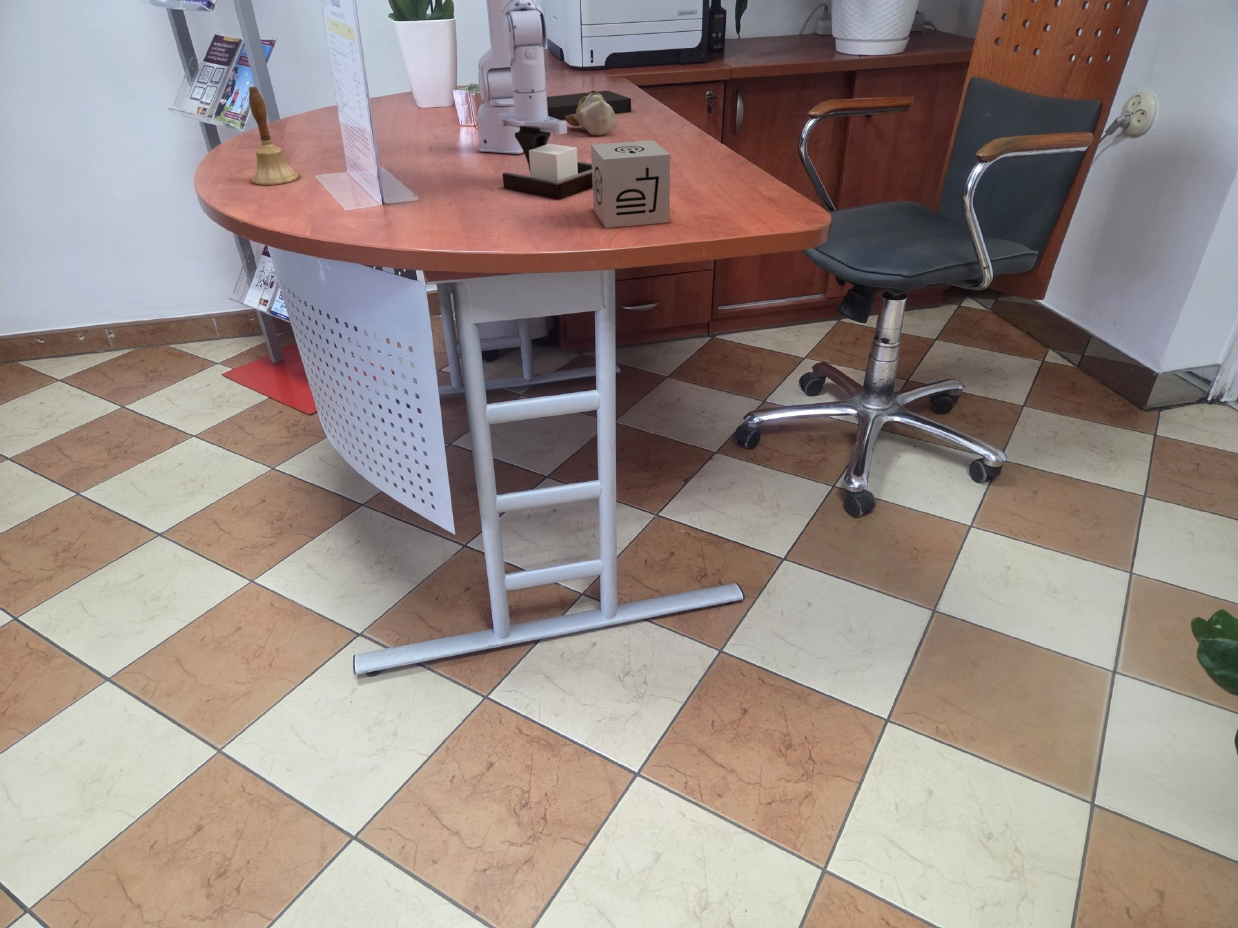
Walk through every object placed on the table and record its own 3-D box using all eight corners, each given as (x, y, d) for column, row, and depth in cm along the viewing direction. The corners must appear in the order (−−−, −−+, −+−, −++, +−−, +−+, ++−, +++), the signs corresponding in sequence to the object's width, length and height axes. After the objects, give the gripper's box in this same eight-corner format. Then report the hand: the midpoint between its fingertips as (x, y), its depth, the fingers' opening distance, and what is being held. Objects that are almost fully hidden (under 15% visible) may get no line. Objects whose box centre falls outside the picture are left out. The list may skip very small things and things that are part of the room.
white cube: (531, 185, 143) (528, 150, 139) (551, 178, 147) (549, 143, 143) (558, 190, 140) (556, 154, 137) (578, 182, 144) (577, 147, 141)
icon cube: (669, 222, 124) (670, 154, 118) (605, 228, 122) (603, 159, 116) (653, 204, 132) (653, 140, 126) (593, 209, 130) (591, 144, 124)
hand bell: (307, 175, 153) (286, 83, 144) (279, 186, 146) (255, 91, 137) (272, 172, 155) (249, 82, 146) (242, 183, 149) (216, 90, 140)
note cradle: (503, 188, 142) (501, 172, 140) (556, 171, 151) (555, 156, 150) (558, 200, 135) (557, 183, 134) (610, 181, 144) (610, 165, 143)
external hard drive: (631, 111, 198) (630, 98, 196) (543, 122, 190) (542, 108, 188) (607, 103, 209) (607, 90, 207) (523, 112, 201) (522, 99, 199)
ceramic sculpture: (578, 95, 168) (560, 89, 180) (580, 139, 172) (563, 130, 185) (626, 92, 171) (605, 86, 183) (627, 135, 175) (607, 127, 187)
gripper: (483, 90, 139) (491, 171, 146) (544, 97, 131) (550, 183, 139) (511, 84, 143) (518, 163, 151) (573, 91, 136) (577, 174, 143)
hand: (535, 172), depth 145 cm, fingers closed
